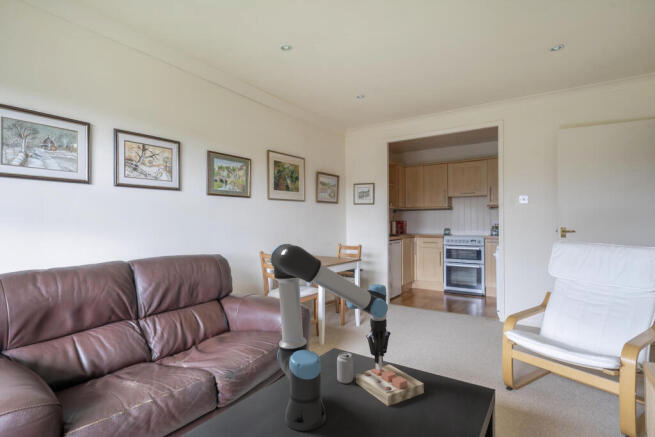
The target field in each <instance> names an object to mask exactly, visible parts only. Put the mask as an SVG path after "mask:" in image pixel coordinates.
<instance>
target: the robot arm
mask: <svg viewBox="0 0 655 437" xmlns="http://www.w3.org/2000/svg"><path fill="white" fill-rule="evenodd" d="M270 263H271V266H272V267H273V274H274V275H273V278H274V280H276V281H277V282H278V292H279V293H278V294H279V295H278V296H279V309H280V310H279V312H280V322H281V324H280V325H281V337H282V338H281V339H280V341H279V343H278V351H277V353H276V355H277V356H276V357H277V363H278V366H279V368H280V369H281V370H282V372H283V373H284V374H285V376H286V377H287V379H288V380H289V400H288V403H287V406H286V410H285V414H284V418H285V419H284V421H285V424H286V425H287V426H288V427H289V428H291V429H292V430H296V431H300V432H304V431H305V432H307V431H309V432H310V431H312V430H313V431H314V430H315V429H318V428H320V427H321V426H322V425H324V423H325V422H326V420H327V419H326V414H327V412H326V408H325V406H324V403H323V398H322V395H321V394H322V388H321V387H322V384H321V383H322V363H321V362H322V361H321V358H320V356H319V354H318V353H317V352H315V351H311V350H309V349H308V340H307V339H306V338H305V337H304V333H303V331H304V330H303V319H302V317H303V315H302V303H301V300H302V299H301V288H300V286H301V285H300V279H301V280H302V281H305V282H307V283H309V284H310V283H313V284H315V285H317V286H319V287H321V288H323V289H324V290H326V291H328V292H329V293H332V294H333V295H335V296H337V297H339V298H341V299H342V300H344V301H345V303H346V306H347V308H348V309H349V310H361V311H363V312H364V313H366V314H369V317H370V319H369V320H370V322H369V323H370V325H369V327H370V331H369V332H370V333H369V334H366V335H365V338H366V339H367V342H368V346H369V347H368V348H369V352H370V355H371V356H373V357H374V363H375V368H376V369H377V370H378V371H381V370H382V367H383V361H384V357H385V354H386V353H387V350H388V346H389V340H390V336H391V333H392V332H391V331H389V330H388V329H387V327H388V326H387V324H388V323H387V313H388V310H389V307H388V303H387V296H388V295H387V288H386V286H385V285H383V284H377V283H376V284H371V285H369V289H368V290H366V289H363V287H361V286H359V285H357V284H356V283H354V282H352V281H351V280H349V279H347V278H345V277H343V276H342V275H340V274H339V273H337V272H335V271H334V270H332V269H330V268H328V267H327V266H325V265H324V264H323V263H322V260H321V259H318V258H317V257H316V256H314V255H313V254H311V253H310V252H308V251H307V250H306V249H304V248H303V247H301V246H299V245H294V244H292V243H283V244H279V245H277V246H276V247H275V248H274V249H273V250H272V252H271V254H270Z"/></svg>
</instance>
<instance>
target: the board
mask: <svg viewBox="0 0 655 437" xmlns="http://www.w3.org/2000/svg"><path fill="white" fill-rule="evenodd" d="M382 369H383V370H385V371H388V370H390V371H392V372H394V373H395V374H396V377H399V376H400V377H402V378H404V379H406V380H407V387H406V388H403V389H400V390H399V389H397V388H396V387H394V386H393V385H392V382H389V383H388V382H386V381H385V380H383V379H382V375H380V376H377V375H375V374H374V373H372V369H370V370H366V371H362V372H358V373H356V374H355V379H356V380H355V382H356V384H357V385H358V386H360V387H361V388H362V389H364V390H365V391H366V392H368V393H369V394H370V395H371V396H374V397H375V398H376V399H378V400H379V401H380V402H382V403H383V404H385V406H387V407H390V406H392V405H395V404H398V403H401V402H404V401H406V400H408V399H411V398H413V397H416V396H419V395H422V394H424V393H425V392H424V390H425V384H424V382H421V381H420V380H418V379H416V378H414V377H413V376H411V375H409V374H407V373H406V372H404V371H402V370H401V369H398V368H396V367H395V366H393V365H391V364H386V365H382Z"/></svg>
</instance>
